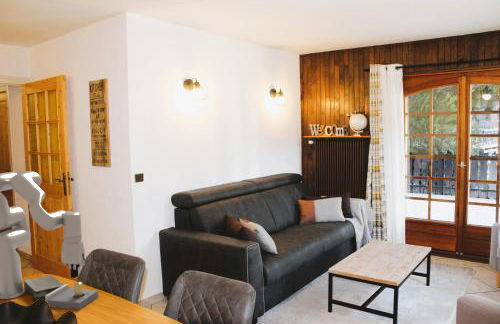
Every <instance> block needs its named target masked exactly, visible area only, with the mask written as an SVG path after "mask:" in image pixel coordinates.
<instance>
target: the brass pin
mask: <svg viewBox="0 0 500 324" xmlns="http://www.w3.org/2000/svg"><path fill="white" fill-rule="evenodd" d="M73 289H74V291H75V298H80V297H83V289H84V288H83V281H76V282H74V283H73Z"/></svg>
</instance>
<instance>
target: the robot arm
mask: <svg viewBox="0 0 500 324" xmlns="http://www.w3.org/2000/svg"><path fill="white" fill-rule="evenodd" d="M41 184H42V177H41V175H40V174H39V173H38V172H35V171H31V170H30V171H29V170H28V171H22V170H21V171H20V170H19V171H18V170H17V171H9V172H2V173H0V230H5V229H8V230H6V231H2V232H0V299H1V300H11V299H14V298H15V299H16V298H18V297H21V296H23V295H25V294H26V293H27V292H26V290H25V289H24V283H23V274H22V273H23V272H22V264H21V256H20V254H19V253H18V251H17V250H16V249H17V248H20V247H23V246H25V245H27V244H28V243H30V240H31V237H32V236H31V230H30V226H29V221H28V219H27V215H26V213H25V210H24V209H22V207H20V206H17V205H16V206H9V202H8V199H7V198H6V196H5V195H4V194H3V191H8V190H14V191H15V192H16V193H17V194H18V196H20V197H21V198H22V199H23V200H24V201H25V202H26V203H27V204H28V205H29V212H30V216H31V218H32V220H33V221H34V222H35V223H36V224H37V225H38V227H40V228H42V229H43V230H45V231H53V230H55V229H59V228H61V227H63V235H62V239H63V242H62V244H61V257H60V258H61V259H60V260H61V263H62V264H64V265H66V266H67V267H68V270H70V271H69V272H70V278H71V279H75V278H77V277H78V276H79V268H80V267H83V266H85V261H86V251H85V245H84V241H82V223H81V222H82V220H81V214H80V212H78V211H68V210H63V209H61V210H56V211H53V212H50V213H48V212H47V211H46V210H45V209H44V208H43V207H42V205H41V202H42V201H43V200H44V199H45V197H46V193H45V191H44V190H43V189H42V188H40V186H41ZM9 228H11V229H9Z"/></svg>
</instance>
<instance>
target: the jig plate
mask: <svg viewBox="0 0 500 324" xmlns="http://www.w3.org/2000/svg"><path fill="white" fill-rule="evenodd" d="M99 296H100V295H99V290H97V289H85V288H83V297H80V298H75V291H74V287H73V288H69V284H68V283H65V284H63V286H61V287H59V288H58V289H56V290H54V291H53V292H51V293H49V294H47V295H46V296H45V298H44V299H45V300H44V301H45V302H46V301H47V302H48V304H49V305H50V308H51V307H52V308H61V309H74V310H82V309H83V308H85V307H86V306H87V305H89V304H90V303H91V302H93V301H94V300H96V299H97V298H98V297H99Z"/></svg>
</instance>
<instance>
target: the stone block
mask: <svg viewBox="0 0 500 324" xmlns="http://www.w3.org/2000/svg"><path fill="white" fill-rule="evenodd" d="M63 285H64V284H63V283H62V282H61V281H59V279H57V278H55V277H54V276H53V275H52V274H51V275H47V276H46V275H45V276H40V277H36V278H30V279H24V280H23V287H24V289H25V290H26V293H27V294H28V295H29V296H30V297H32V299H33V300H35V301H38V300H37V299H40V300H43V299H45V296H46V295H47V294H49V293H51V292H53V291H54V290H56V289H58V288H59V287H61V286H63Z"/></svg>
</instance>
